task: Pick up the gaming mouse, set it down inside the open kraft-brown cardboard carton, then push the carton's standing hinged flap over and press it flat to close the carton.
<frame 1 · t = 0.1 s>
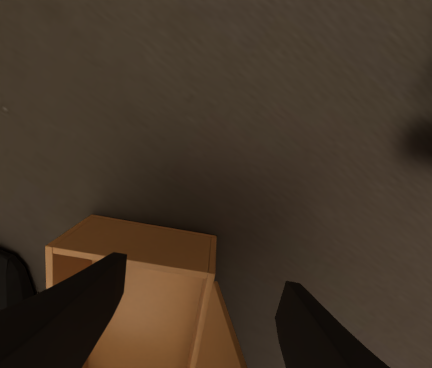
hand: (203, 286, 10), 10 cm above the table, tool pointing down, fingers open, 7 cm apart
carton: (144, 307, 23), on the table
gaming mouse: (7, 283, 22), on the table
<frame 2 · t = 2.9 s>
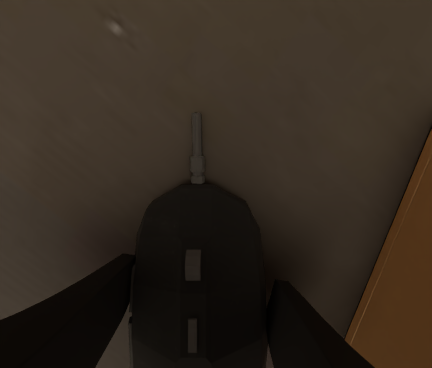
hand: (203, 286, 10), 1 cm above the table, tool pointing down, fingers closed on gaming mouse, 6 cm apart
gaming mouse: (201, 264, 11), on the table, touching gripper
when the fingers open (2 cm above the table, at t = 7.7 s): gaming mouse stays where it is, resting on carton.
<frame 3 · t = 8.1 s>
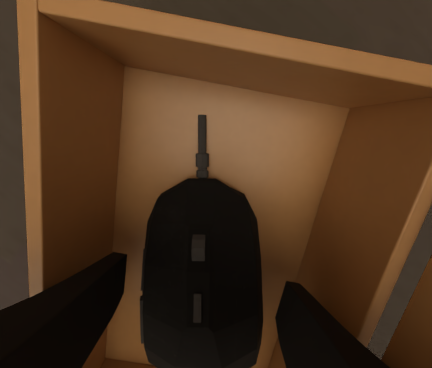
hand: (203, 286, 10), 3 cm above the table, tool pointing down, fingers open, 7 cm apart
carton: (207, 249, 13), on the table
gaming mouse: (204, 251, 13), resting on carton
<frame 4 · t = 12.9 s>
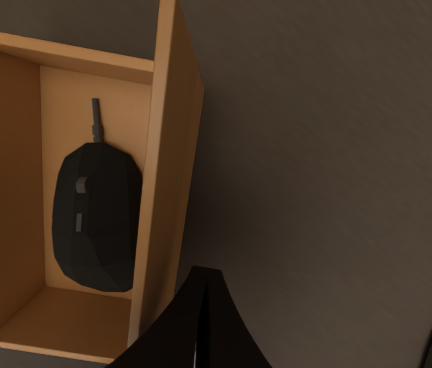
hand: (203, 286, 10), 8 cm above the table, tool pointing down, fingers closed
carton: (114, 199, 18), on the table
flap: (155, 293, 9), point 9 cm above the table, hinge at 91.3°, touching gripper
gaming mouse: (110, 200, 17), resting on carton
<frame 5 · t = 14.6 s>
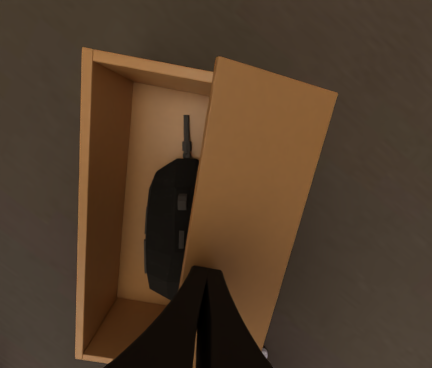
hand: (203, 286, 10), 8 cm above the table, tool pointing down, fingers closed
carton: (192, 212, 18), on the table
flap: (236, 277, 11), point 7 cm above the table, hinge at 21.2°, touching gripper
gaming mouse: (190, 213, 17), resting on carton
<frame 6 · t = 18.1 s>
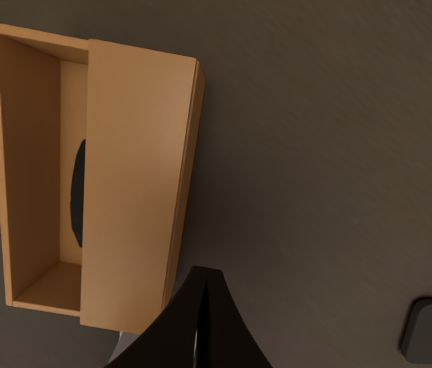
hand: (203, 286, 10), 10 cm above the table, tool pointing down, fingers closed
carton: (124, 181, 20), on the table
flap: (129, 212, 14), point 6 cm above the table, hinge at -0.7°
gaming mouse: (120, 181, 19), resting on carton
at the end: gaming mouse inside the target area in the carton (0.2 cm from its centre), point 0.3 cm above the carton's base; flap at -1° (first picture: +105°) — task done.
